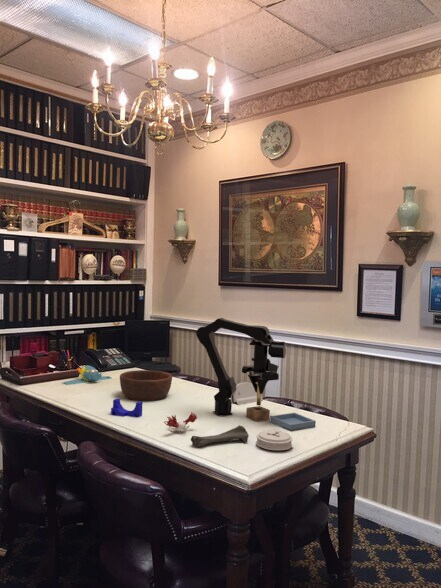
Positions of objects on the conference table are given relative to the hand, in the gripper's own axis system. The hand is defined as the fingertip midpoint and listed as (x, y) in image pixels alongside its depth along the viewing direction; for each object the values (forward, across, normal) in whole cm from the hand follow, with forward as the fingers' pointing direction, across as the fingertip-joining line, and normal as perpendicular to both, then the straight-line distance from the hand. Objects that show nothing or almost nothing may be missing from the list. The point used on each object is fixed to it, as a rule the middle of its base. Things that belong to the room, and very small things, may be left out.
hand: (259, 393), depth 208 cm
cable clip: (+11, +26, +48) cm, 56 cm away
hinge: (+11, +26, -12) cm, 31 cm away
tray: (+11, -13, -8) cm, 19 cm away
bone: (+11, -20, +31) cm, 38 cm away
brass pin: (+5, 0, 0) cm, 5 cm away
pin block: (+11, 0, 0) cm, 11 cm away
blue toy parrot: (+11, +94, +43) cm, 104 cm away
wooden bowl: (+11, +53, +28) cm, 61 cm away
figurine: (+11, -1, +38) cm, 40 cm away
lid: (+11, -30, +15) cm, 35 cm away
